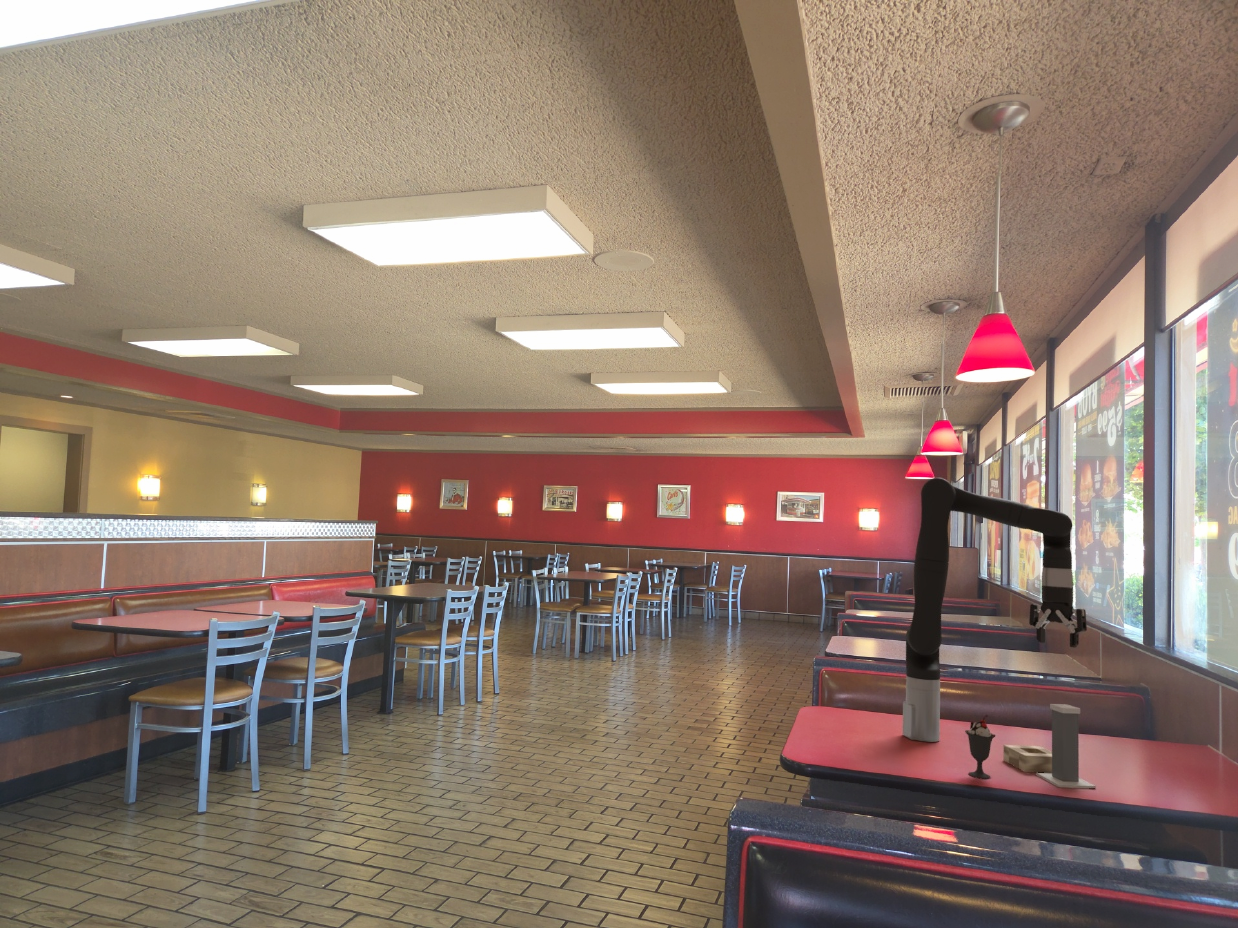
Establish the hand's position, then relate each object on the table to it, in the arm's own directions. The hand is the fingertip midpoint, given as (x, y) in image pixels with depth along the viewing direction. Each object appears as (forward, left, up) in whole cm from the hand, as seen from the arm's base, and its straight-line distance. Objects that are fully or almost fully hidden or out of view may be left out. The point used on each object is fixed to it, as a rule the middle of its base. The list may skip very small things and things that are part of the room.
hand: (1057, 644), depth 210 cm
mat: (-11, -21, -30) cm, 38 cm away
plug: (-11, -21, -30) cm, 38 cm away
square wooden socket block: (-12, -9, -30) cm, 34 cm away
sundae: (-31, -19, -30) cm, 47 cm away
